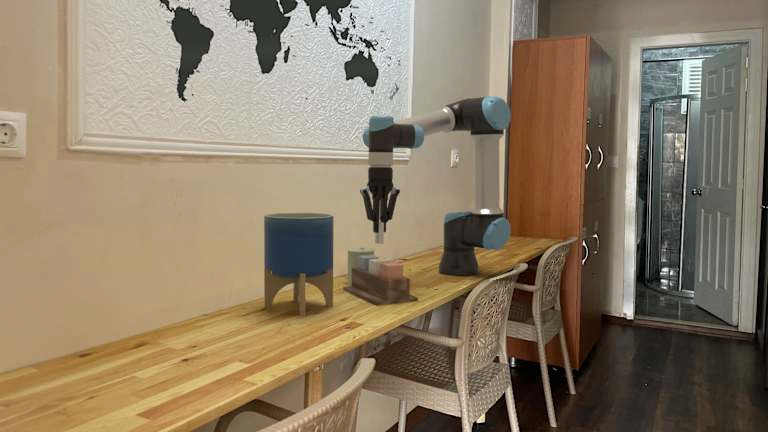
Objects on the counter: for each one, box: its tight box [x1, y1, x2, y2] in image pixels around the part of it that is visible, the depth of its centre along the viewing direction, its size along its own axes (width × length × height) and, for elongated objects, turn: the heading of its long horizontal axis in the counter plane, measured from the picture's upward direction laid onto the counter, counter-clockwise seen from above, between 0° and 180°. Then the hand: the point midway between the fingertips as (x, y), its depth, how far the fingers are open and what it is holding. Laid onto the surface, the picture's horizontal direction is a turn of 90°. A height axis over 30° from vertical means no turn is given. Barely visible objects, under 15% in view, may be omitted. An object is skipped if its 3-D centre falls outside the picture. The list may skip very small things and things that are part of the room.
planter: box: [263, 211, 334, 317], centre depth 173 cm, size 19×19×26 cm
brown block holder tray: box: [342, 267, 419, 306], centre depth 191 cm, size 14×24×7 cm, turn 27°
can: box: [346, 247, 375, 286], centre depth 210 cm, size 9×9×12 cm
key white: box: [369, 258, 391, 275], centre depth 191 cm, size 5×5×6 cm
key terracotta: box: [380, 261, 404, 280], centre depth 184 cm, size 5×5×6 cm
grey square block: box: [358, 255, 380, 271], centre depth 198 cm, size 5×5×6 cm
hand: (379, 243), depth 190 cm, fingers closed
